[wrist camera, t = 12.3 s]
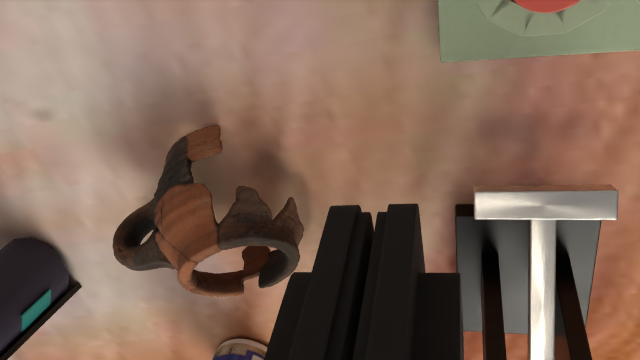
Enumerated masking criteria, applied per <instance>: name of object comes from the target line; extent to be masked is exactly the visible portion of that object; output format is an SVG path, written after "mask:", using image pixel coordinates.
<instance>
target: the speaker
mask: <svg viewBox="0 0 640 360" xmlns="http://www.w3.org/2000/svg"><path fill="white" fill-rule="evenodd" d="M68 282H69V273H68V271H67V269H66V267H65V265H64V263H63V262H62V260H61V258H60V256H59V255H58V254H57V253H56V252H55V251H54V250H53V249H52V248H51V247H49V246H47V245H45V244H43V243H41V242H39V241H37V240H35V239H33V238H22V239H14V240H13V241H12V242H10V243H9V244H8V245H6V246H5V247H4V248H2V249H1V250H0V360H7V359H8V358H9V357H10V356H11V355H12V354H13V353H14V352H15V351H17V350H18V349H19V348H20V347H21V346H22V345H23V344H24V343H25V342H26V341H27V340H28V339H29V338H30V337H31V336H32V335H33V334H34V333H35V332H36V331H37V330H38V329H39V328H40V327H41V326H42V325H43V324H44V323H45V322H46V321H47V320H48V319H49V318H50V317H51V316H52V315H53V314H54V313H55V312H56V311H57V310H58V309H59V308H61V307H62V306H63V305H64V304H65V303H66V302H67V301H68V300H69V299H70V298H71V297H72V296H73V295H74V294H75V293H76V292H77V291H78V290H79V289H80V288H81V287H82V286H81V285H80V284H79V283H78V284H76V285H74V286H72V287H70V288H68Z"/></svg>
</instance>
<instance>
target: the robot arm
mask: <svg viewBox="0 0 640 360" xmlns="http://www.w3.org/2000/svg"><path fill="white" fill-rule="evenodd" d="M264 360H464V346H463V312H462V292H461V276H460V273H425V264H424V254H423V244H422V235H421V225H420V215H419V207H418V204H389V205H388V210H387V212H378V214H377V219H376V225H375V230H374V228H373V222H372V216H371V213H370V212H362V211H361V208H360V206H359V205H343V206H331V207H330V209H329V212H328V216H327V219H326V223H325V226H324V230H323V234H322V237H321V241H320V244H319V248H318V252H317V255H316V259H315V262H314V266H313V270H312V272H294V273H293V274H292V275H291V277H290V279H289V282H288V285H287V288H286V291H285V294H284V297H283V300H282V304H281V307H280V310H279V313H278V316H277V319H276V323H275V326H274V329H273V332H272V335H271V338H270V341H269V345H268V348H267V351H266V354H265V357H264Z"/></svg>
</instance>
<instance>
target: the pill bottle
mask: <svg viewBox="0 0 640 360" xmlns="http://www.w3.org/2000/svg"><path fill="white" fill-rule="evenodd" d="M266 351H267V347H266V346H264V345H262V344H260V343H258V342H255V341H252V340H248V339H232V340H228V341H226V342H224V343H222V344H221V345H220V346H219V347H218V349H217V350H216V353H215V355H214V357H213V360H264V357H265V354H266Z"/></svg>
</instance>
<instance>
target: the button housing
mask: <svg viewBox="0 0 640 360" xmlns="http://www.w3.org/2000/svg"><path fill="white" fill-rule="evenodd" d="M438 18H439V43H440V62H457V61H473V60H490V59H506V58H522V57H538V56H554V55H571V54H587V53H603V52H619V51H636V50H640V0H581V1H579V2H578V3H576V4H575V5H573V6H571V7H569V8H567V9H564V10H561V11H558V12H552V13H538V12H534V11H530V10H527V9H525V8H523V7H522V6H520V5H519V4H517V3H516V2H515V1H514V0H438Z"/></svg>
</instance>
